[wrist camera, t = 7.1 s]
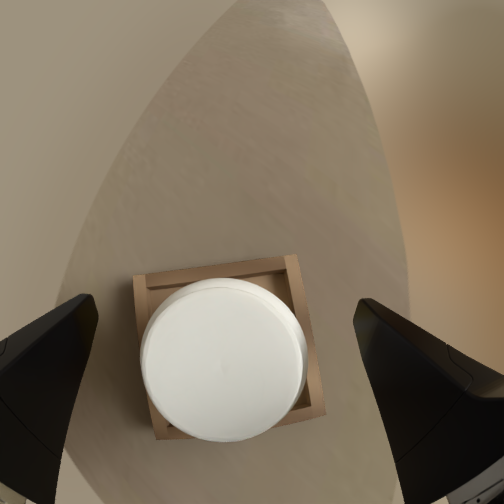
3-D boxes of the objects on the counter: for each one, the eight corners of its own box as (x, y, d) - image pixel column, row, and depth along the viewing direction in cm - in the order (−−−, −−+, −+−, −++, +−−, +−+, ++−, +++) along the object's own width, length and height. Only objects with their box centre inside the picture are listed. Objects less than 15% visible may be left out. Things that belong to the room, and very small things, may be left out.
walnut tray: (316, 408, 16) (326, 414, 14) (163, 430, 15) (156, 439, 13) (289, 263, 19) (296, 253, 17) (142, 283, 18) (132, 275, 16)
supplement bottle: (167, 322, 16) (89, 287, 6) (255, 295, 17) (290, 226, 7) (197, 409, 14) (156, 486, 5) (285, 381, 15) (361, 422, 6)
